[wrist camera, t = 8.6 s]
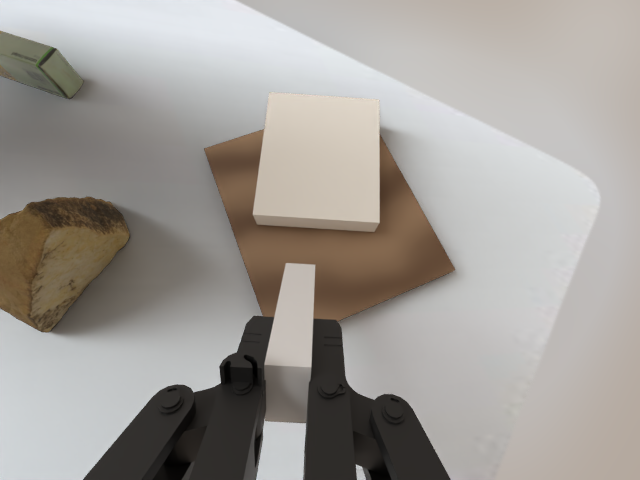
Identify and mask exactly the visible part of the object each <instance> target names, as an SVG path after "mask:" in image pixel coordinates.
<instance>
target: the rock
mask: <svg viewBox="0 0 640 480" xmlns="http://www.w3.org/2000/svg"><path fill="white" fill-rule="evenodd" d="M129 236H130V234H129V231H128V228H127V225H126V223H125V221H124V218H123V216H122V214H121V213H120V212H119V211H118V210H117V209H116V208H115V207H114V206H113V205H112V204H111V202H105V201H104V200H102V199H94V198H92V197H85V198H80V199H79V198H75V197H73V198H65V197H58V198H55V199H46V200H45V201H41V202H31V203H29V204H27V206H26V207H25V208H24V209H23V210H22V211H19V212H16V213H12V214H9V215H7V216H6V217H4V218H3V219H1V220H0V308H1V309H2V310H4V311H5V312H8V313H10V314H11V315H12V316H14V317H15V318H17V319H18V320H21V321H23V322H24V323H26V324H28V325H30V326H32V327H33V328H35V329H37V330H39V331H41V332H46V333H47V332H49V331H50V330H51V329H52V328H53V327H54V326H55V325H56V324H57V323H58V322H59V321H60V319H61V318H62V317H63V315H64V314H65V313H66V312H67V310H68V308H69V307H70V306H71V305H72V304H73V303H74V302H75V301H76V299H77V298H78V297H79V296H80V295H81V294H82V292H83V291H84V289H85V288H86V287H87V286H88V285H89V284H90V282H91V281H92V280H93V279H95V278H96V277H97V276H98V275H99V274H100V273H101V272H102V270H103V269H104V268H105V267H106V266H107V265H108V264H109V263H110V262H111V260H112V259H113V257H114V256H115V255H116V253H117V251H118V250H120V249H121V248H122V247H123V246H124V245H125V244H126V243H127V241H128V239H129Z"/></svg>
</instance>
